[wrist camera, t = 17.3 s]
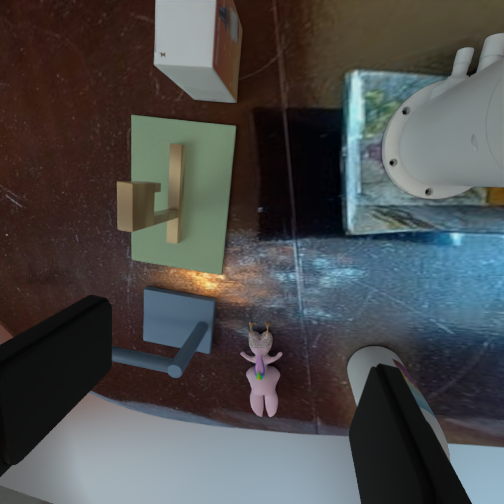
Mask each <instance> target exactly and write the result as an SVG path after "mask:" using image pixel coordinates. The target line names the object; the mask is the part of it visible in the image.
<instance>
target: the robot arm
mask: <svg viewBox="0 0 504 504" xmlns="http://www.w3.org/2000/svg"><path fill="white" fill-rule="evenodd" d="M473 53H474V48H470V47H469V48H462V49H460V50H458V51H457V54H456V58H455V61H454V65H453V66H454V68H453V71H452V75H451V76H449V77H448V78H447V79H446V80H442V81H439V82H435V83H432V84H430V85H428V86H426V87H424V88H422V89H420V90H419V91H417V92H416V93H414V94H413V95H412V96H410V97H409V98H408V99H407V100H405V101H404V102H403V103H402V105H401V106H400V107H399V108H398V109H397V110H396V111H395V113H394V114H393V116H392V118H391V119H390V121H389V123H388V125H387V127H386V130H385V132H384V137H383V141H382V159H383V165H384V167H385V170H386V173H387V174H388V176H389V177H390V179H391V181H392V182H393V183H394V184H395V185H396V186H397V187H398V188H400V189H401V190H403V191H404V192H406V193H408V194H410V195H413V196H416V197H420V198H426V199H441V198H448V197H452V196H455V195H458V194H460V193H463V192H465V191H467V190H469V189H471V188H472V187H474V186H477V187H504V33H499V34H494V35H491V36H489V37H487V38H486V39H485V42H484V45H483V48H482V51H481V55H480V58H479V65H478V68H477V72H476V73H475V74H473V75H471V76H470V77H469V76H468V75H466V73H467V70H468V67H469V65H470V63H471V59H472V56H473ZM403 110H404V111H405V115H403V113H402V111H403ZM390 161H392V162H393V164H392V165H390V164H389V162H390ZM426 189H427V190H428V192H427V193H426V194H425V191H426ZM111 365H112V305H111V304H110V303H109V301H108V299H106V298H103V297H99V296H95V295H89V296H87V297H85V298H83V299H81V300H80V301H78V302H76V303H74V304H72V305H71V306H69V307H67V308H65V309H64V310H62V311H60V312H58V313H56V314H55V315H53V316H51V317H49V318H47V319H46V320H44V321H42V322H40V323H39V324H37V325H35V326H33V327H31V328H30V329H28V330H26V331H24V332H22V333H21V334H19V335H17V336H15V337H14V338H12V339H10V340H8V341H6V342H5V343H3V344H1V345H0V477H1V476H2V475H3V474H4V473H5V472H6V471H7V470H8V469H9V468H10V467H11V466H12V465H16V464H18V463H19V462H20V461H22V460H23V459H24V458H25V456H27V455H28V454H29V453H30V452H31V451H32V449H34V448H35V446H36V445H38V443H39V442H40V441H41V440H42V439H43V438H44V437H45V436H46V435H47V434H48V433H49V432H50V431H51V430H52V429H53V428H54V427H55V426H56V425H57V424H58V423H59V422H60V421H61V420H62V419H63V418H64V417H65V416H66V415H67V414H68V413H69V412H70V411H71V410H72V409H73V408H74V407H75V406H76V405H77V404H78V403H79V402H80V401H81V400H82V399H83V398H84V396H86V395H87V393H89V392H90V391H91V390H92V389H93V387H94V386H95V385H96V384H97V383H98V382H99V381H100V380H101V379H102V378H103V377H104V376H105V375H106V374H107V373H108V372H109V370H110V368H111ZM349 440H350V446H351V451H352V457H353V461H354V466H355V473H356V477H357V483H358V489H359V494H360V499H361V504H472V503H471V501H470V499H469V497H468V495H467V493H466V491H465V489H464V488H463V486H462V484H461V482H460V480H459V478H458V476H457V475H456V472H455V470H454V469H453V467H452V465H451V463H450V461H449V459H448V457H447V455H446V453H445V451H444V450H443V448H442V446H441V444H440V442H439V440H438V438H437V436H436V434H435V432H434V431H433V429H432V427H431V425H430V424H429V422H427V421H426V419H425V417H424V415H423V413H422V411H421V409H420V407H419V405H418V403H417V401H416V399H415V397H414V396H413V394H412V392H411V390H410V388H409V386H408V384H407V382H406V380H405V378H404V376H403V374H402V372H401V371H400V369H399V368H397V367H394V366H390V365H385V364H381V363H379V364H378V365H377V366H376V367H374V366H372V367H371V369H370V371H369V374H368V377H367V380H366V383H365V385H364V388H363V391H362V394H361V397H360V400H359V403H358V406H357V409H356V412H355V414H354V417H353V420H352V423H351V426H350V431H349ZM0 504H52V503H49V502H46V501H43V500H41V499H38V498H35V497H32V496H29V495H26V494H23V493H20V492H17V491H14V490H11V489H8V488H5V487H2V486H0Z"/></svg>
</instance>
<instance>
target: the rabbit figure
mask: <svg viewBox="0 0 504 504" xmlns="http://www.w3.org/2000/svg"><path fill="white" fill-rule="evenodd" d="M254 324H255V323H249V325H250V334H249V346H250V348H251V350H252V352H253V353H255V354H256V355H255V356H254V357H251V356H248V355H246V354H245V353H244V352H241V355H242V356H243V357H244V358H246V359H247V360H249V361H251V362H254V363H256V365H255V366H253V367H251V368H250V369H249V370H248V371H247V373H246V375H247V378H248V380H249V382H250V384H251V388H252V392H251V395H250V402H251V406H252V409H253V411H254V412H255V413H256V414H257V415H258V416H260V417H262V413H263V395H265V404H266V410H267V412H268V415H269V417H272V416H273V415H274V414H275V413H276V410H277V405H278V397H277V394H276V391H275V387H276V384H277V382H278V379H279V377H280V373H279V371H278V370H277V369H276V368H275V367H272V366H268V365H267V364H269V363H271V362H274V361H276V360H277V359H278V358H280V357H281V356H282V352H279V353H278V354H277V355H276V356H274V357H270V356H269V355H268V354H267V353H268V352H269V350H270V348H271V346H272V341H273V338H272V334H271V333H270V332H268V327H269V325H270V324H271V322H270V323H269V322H268V323H265V324H266V326H267V331H265V332H263V333H262V334H259V333H258V332H256V331H252V326H253V325H254Z"/></svg>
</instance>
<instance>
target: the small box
mask: <svg viewBox="0 0 504 504" xmlns="http://www.w3.org/2000/svg"><path fill="white" fill-rule="evenodd" d="M242 32H243V30H242V26H241V24H240V20H239V17H238V14H237V11H236V8H235V5H234V2H233V0H156V4H155V51H154V65H155V66H156V67H157V68H158V69H160V70H161V71H162V72H163V73H164V74H165V75H167V76H168V77H169V78H170V79H171V80H173V81H174V82H175V83H176V84H177V85H178V86H180V87H181V88H182V89H183V90H184V91H185V92H186V93H188V94H189V95H190V96H191V97H192V98H193V99H195V100H205V101H217V102H229V103H237V90H238V76H239V65H240V55H241V43H242Z"/></svg>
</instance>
